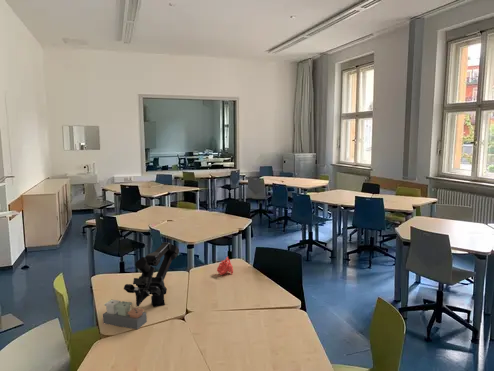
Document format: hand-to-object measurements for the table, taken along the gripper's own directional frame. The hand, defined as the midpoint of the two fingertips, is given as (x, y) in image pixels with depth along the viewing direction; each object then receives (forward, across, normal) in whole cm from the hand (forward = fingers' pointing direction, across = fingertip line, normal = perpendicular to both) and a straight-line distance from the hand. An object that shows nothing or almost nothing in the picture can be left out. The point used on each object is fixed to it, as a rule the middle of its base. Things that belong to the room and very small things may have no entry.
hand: (137, 305), depth 191 cm
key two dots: (+5, -7, +4) cm, 9 cm away
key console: (+7, -7, +6) cm, 12 cm away
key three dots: (+7, 0, +5) cm, 9 cm away
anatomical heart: (-46, +24, +60) cm, 79 cm away
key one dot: (+5, -14, +4) cm, 15 cm away
